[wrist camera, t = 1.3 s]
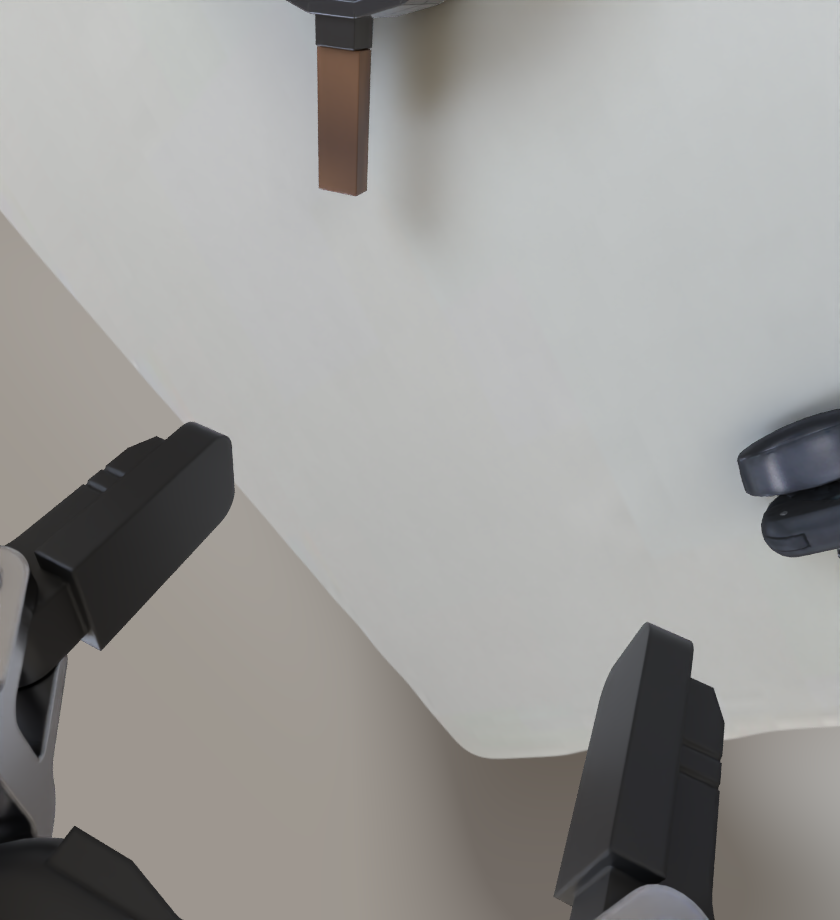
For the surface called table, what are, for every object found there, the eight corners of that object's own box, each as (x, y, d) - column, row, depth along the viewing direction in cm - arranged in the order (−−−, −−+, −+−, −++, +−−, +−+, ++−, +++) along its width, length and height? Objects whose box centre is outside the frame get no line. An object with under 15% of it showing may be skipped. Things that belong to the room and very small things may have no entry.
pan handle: (333, 9, 28) (312, 10, 26) (375, 14, 27) (356, 16, 26) (333, 182, 32) (315, 190, 30) (370, 189, 31) (353, 198, 30)
